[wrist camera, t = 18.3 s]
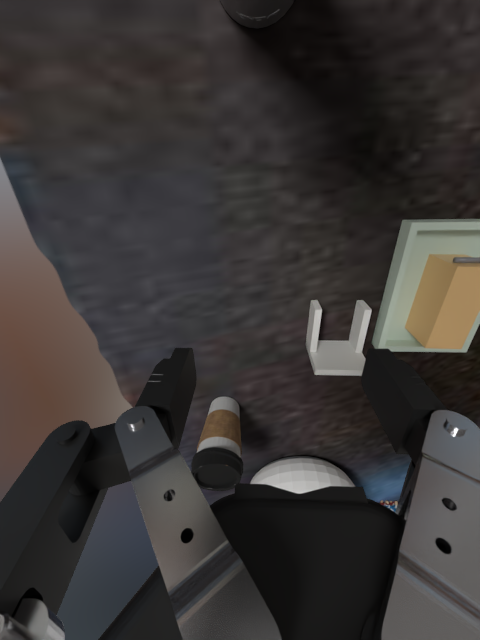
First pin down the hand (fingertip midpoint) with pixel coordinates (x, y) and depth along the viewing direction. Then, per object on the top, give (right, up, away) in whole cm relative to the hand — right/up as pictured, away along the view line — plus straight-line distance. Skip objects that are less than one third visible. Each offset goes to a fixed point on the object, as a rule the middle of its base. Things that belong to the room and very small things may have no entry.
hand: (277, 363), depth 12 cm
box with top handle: (+28, +6, +28) cm, 40 cm away
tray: (+28, +7, +28) cm, 40 cm away
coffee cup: (-5, -16, +43) cm, 46 cm away
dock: (+14, +2, +32) cm, 35 cm away
